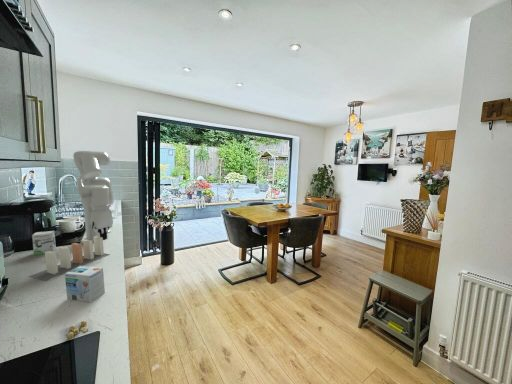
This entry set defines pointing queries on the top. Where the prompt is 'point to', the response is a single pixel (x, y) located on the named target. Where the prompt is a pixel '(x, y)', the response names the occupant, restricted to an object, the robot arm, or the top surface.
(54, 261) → the domino
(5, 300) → the top surface
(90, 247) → the domino
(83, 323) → the dice set
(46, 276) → the mat
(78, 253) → the terracotta domino
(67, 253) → the domino
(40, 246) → the ink box
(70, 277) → the light bulb box
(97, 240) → the domino
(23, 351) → the top surface
